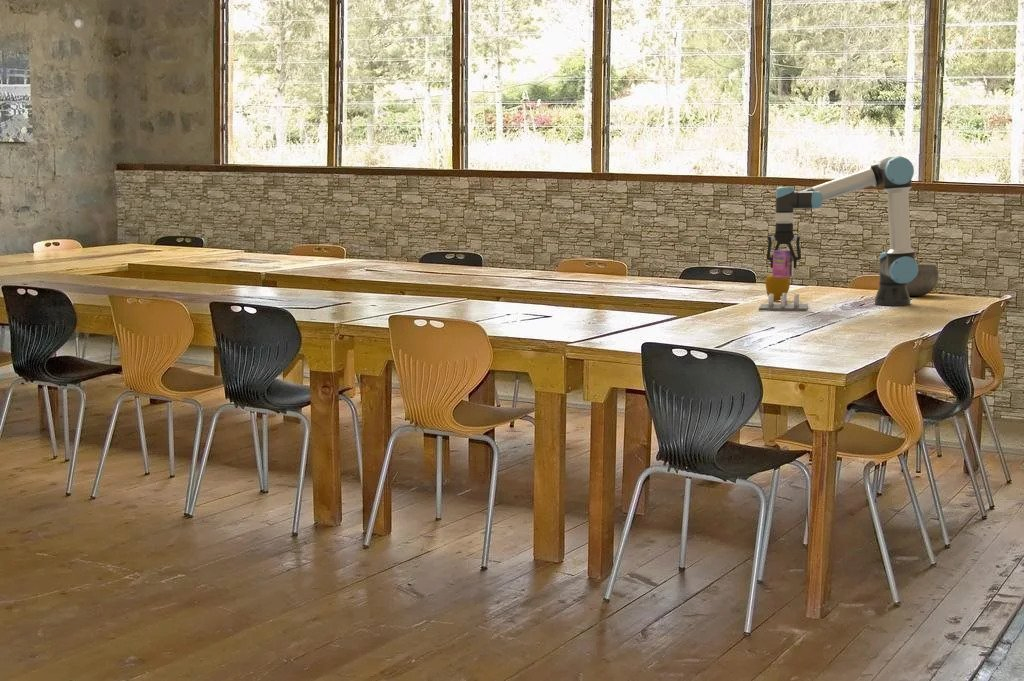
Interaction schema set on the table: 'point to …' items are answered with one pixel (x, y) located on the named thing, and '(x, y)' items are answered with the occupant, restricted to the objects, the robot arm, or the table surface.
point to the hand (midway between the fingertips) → (783, 275)
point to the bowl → (923, 280)
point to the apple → (777, 286)
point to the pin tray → (787, 307)
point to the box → (782, 263)
